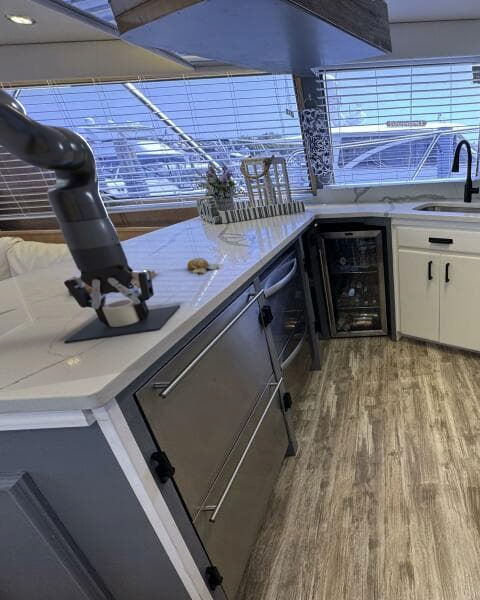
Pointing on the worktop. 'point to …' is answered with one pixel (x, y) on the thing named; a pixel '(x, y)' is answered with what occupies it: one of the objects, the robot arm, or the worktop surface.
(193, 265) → the turtle figurine
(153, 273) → the tray
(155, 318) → the mat
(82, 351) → the worktop surface
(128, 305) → the tape
